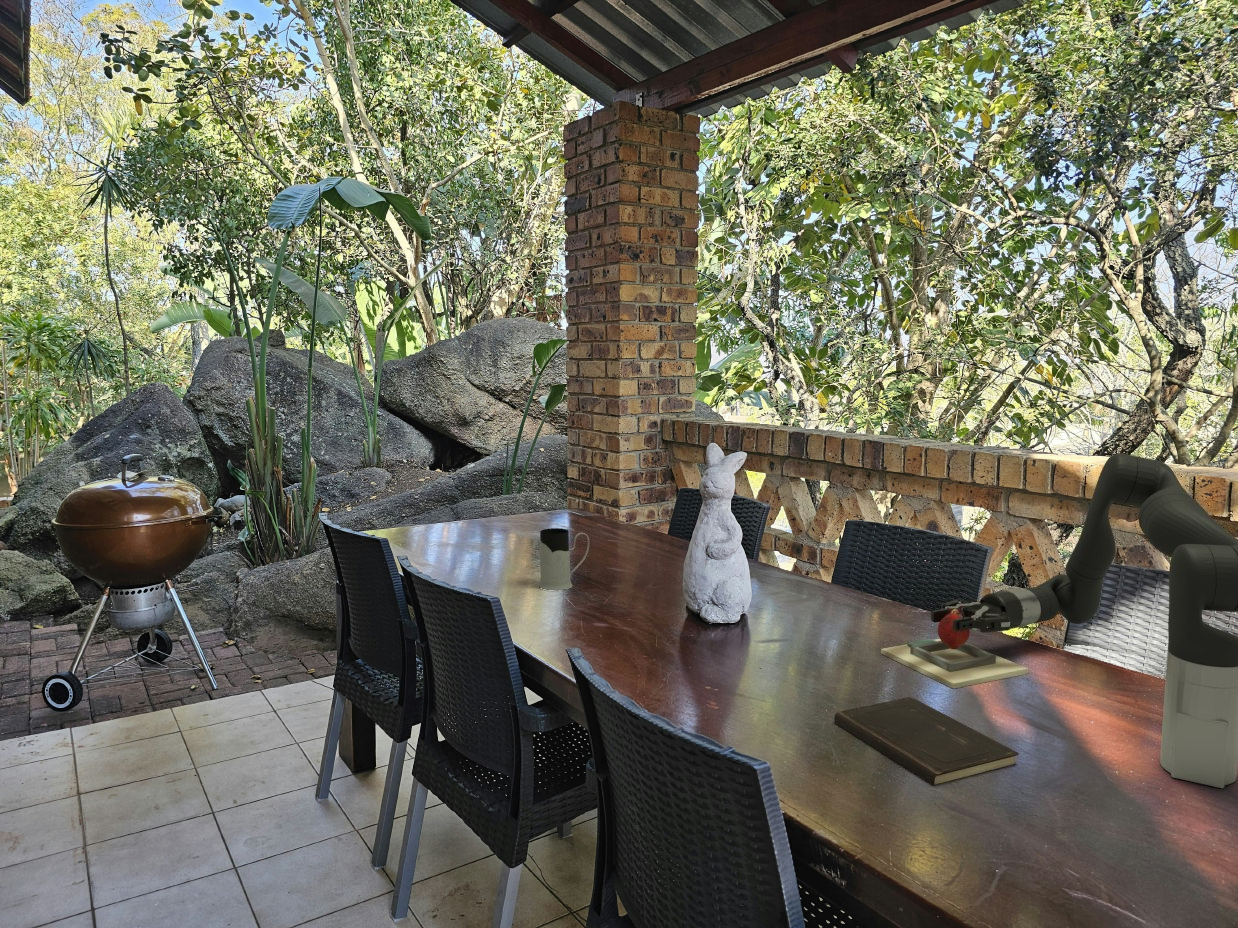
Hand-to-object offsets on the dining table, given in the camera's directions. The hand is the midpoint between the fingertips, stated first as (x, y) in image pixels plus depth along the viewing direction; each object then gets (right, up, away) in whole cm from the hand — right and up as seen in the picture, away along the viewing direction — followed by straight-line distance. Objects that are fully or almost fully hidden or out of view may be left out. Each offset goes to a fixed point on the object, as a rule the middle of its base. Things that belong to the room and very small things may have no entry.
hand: (943, 621), depth 166 cm
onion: (+3, -6, +2) cm, 7 cm away
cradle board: (+2, -9, +2) cm, 9 cm away
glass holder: (-77, -2, +63) cm, 99 cm away
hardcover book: (-15, -14, -31) cm, 38 cm away
